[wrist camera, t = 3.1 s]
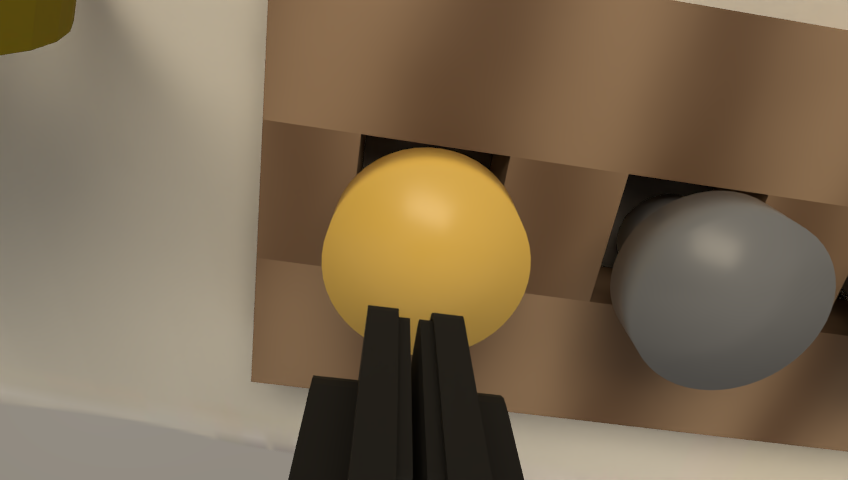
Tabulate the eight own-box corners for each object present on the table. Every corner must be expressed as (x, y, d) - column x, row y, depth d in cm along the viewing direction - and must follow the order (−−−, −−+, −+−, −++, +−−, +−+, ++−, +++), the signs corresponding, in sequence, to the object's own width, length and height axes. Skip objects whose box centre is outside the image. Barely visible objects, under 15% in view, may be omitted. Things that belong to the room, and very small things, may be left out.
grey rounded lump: (766, 173, 19) (872, 230, 14) (709, 313, 21) (786, 400, 16) (608, 149, 18) (667, 200, 14) (566, 294, 20) (607, 378, 16)
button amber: (520, 136, 18) (552, 184, 14) (487, 284, 20) (506, 366, 16) (352, 111, 18) (331, 152, 13) (336, 264, 20) (313, 342, 15)
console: (1084, 74, 19) (1194, 90, 17) (886, 409, 25) (945, 462, 22) (294, -61, 17) (271, -69, 15) (271, 334, 23) (251, 381, 20)
